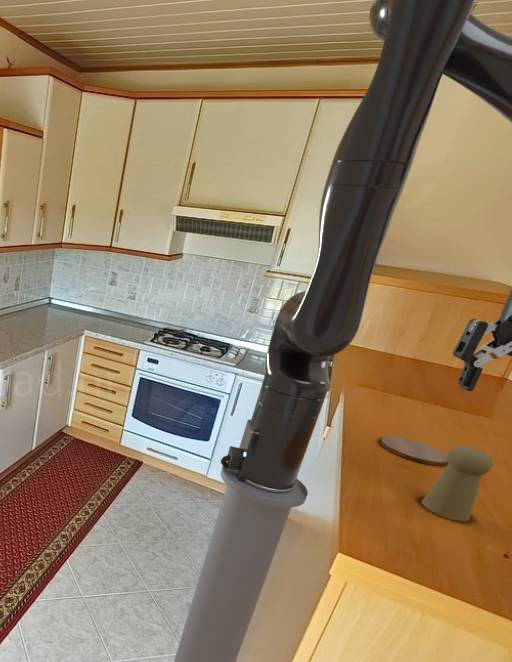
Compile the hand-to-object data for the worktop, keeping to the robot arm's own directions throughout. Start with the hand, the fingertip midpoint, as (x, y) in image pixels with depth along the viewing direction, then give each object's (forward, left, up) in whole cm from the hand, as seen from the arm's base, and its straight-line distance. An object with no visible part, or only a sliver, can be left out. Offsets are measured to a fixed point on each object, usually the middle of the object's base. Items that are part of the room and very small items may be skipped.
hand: (499, 395), depth 73 cm
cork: (0, 0, -20) cm, 20 cm away
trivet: (+5, +25, -20) cm, 32 cm away
